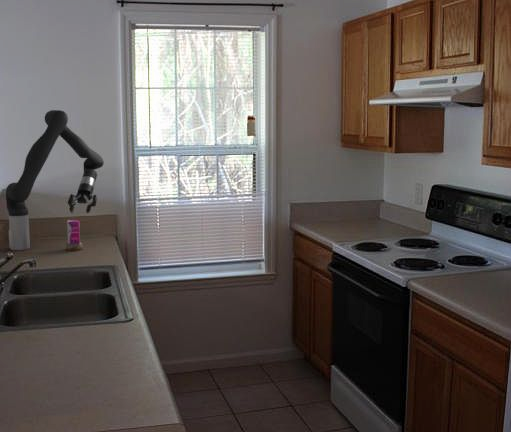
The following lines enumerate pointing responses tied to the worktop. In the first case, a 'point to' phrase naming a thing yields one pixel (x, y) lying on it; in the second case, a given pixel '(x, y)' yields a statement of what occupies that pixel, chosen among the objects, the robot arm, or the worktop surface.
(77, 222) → the supplement box
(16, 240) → the robot arm
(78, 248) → the base block
